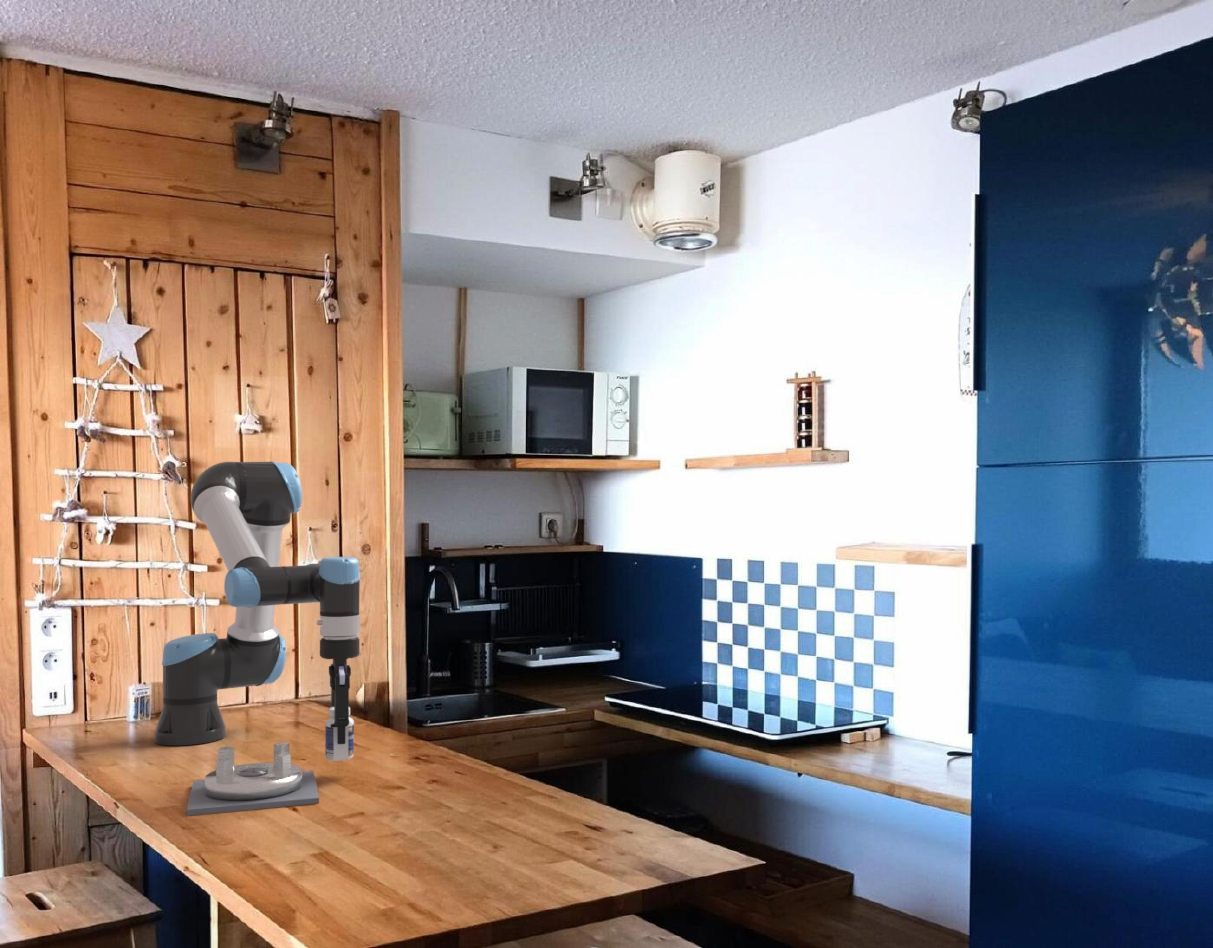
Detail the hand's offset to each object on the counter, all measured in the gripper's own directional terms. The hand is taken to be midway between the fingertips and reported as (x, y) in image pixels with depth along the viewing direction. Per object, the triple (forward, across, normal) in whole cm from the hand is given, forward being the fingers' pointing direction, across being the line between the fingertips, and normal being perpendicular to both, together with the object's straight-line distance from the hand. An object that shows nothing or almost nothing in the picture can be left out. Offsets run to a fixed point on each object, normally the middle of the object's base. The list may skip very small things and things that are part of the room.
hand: (339, 756), depth 214 cm
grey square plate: (+4, +8, -16) cm, 18 cm away
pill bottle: (+1, 0, 0) cm, 1 cm away
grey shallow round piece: (+3, +7, -16) cm, 18 cm away
